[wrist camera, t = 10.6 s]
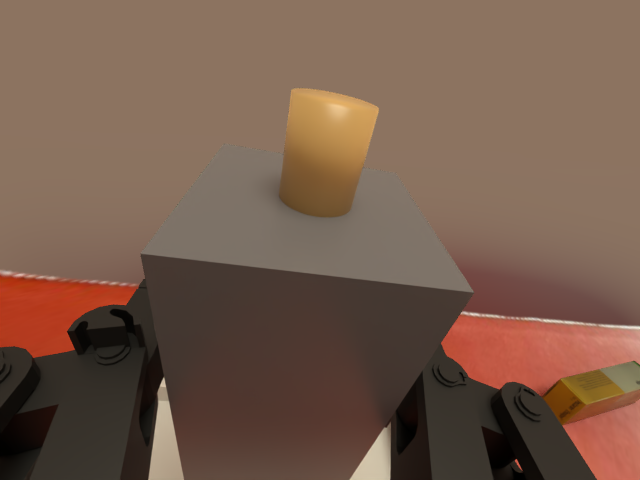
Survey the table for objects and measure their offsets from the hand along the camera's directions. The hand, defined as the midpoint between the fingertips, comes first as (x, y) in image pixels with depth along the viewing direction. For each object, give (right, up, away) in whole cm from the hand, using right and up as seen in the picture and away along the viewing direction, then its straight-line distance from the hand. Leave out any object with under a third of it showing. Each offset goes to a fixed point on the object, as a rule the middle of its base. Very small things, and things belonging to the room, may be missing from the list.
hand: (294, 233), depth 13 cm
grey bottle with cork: (-1, -8, -1) cm, 8 cm away
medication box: (+29, -17, +18) cm, 38 cm away
